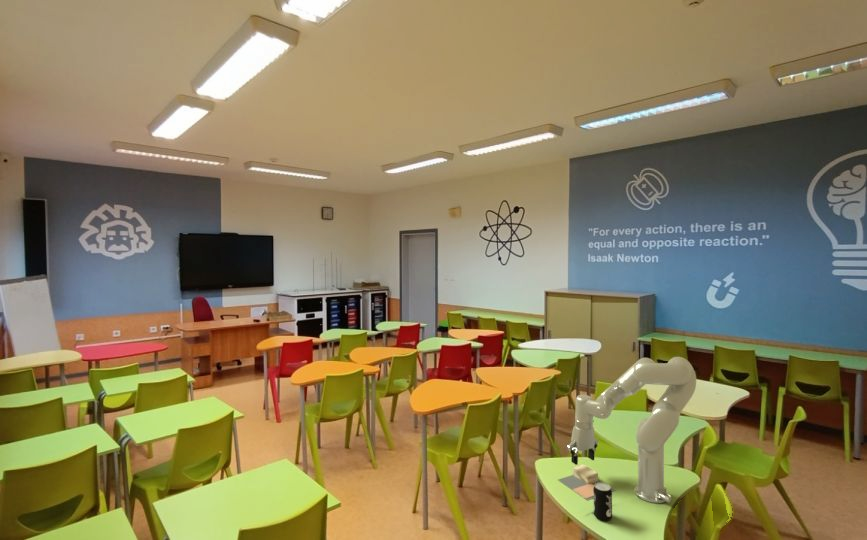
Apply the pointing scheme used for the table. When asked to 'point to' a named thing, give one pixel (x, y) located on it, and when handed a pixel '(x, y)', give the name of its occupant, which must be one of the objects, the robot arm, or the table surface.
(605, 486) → the beverage can
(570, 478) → the rubber mat
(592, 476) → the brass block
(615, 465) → the table surface
